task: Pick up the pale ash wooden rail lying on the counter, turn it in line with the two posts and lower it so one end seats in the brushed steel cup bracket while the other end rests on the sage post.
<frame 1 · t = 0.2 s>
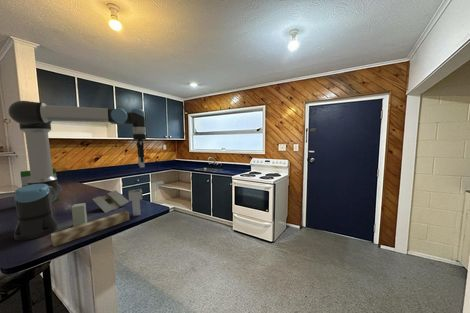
hand: (141, 166, 128), 28 cm above the countertop, tool pointing down, fingers open, 13 cm apart
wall: (112, 207, 130), on the countertop
hardback book: (42, 202, 142), on the countertop
rail: (95, 231, 97), on the countertop
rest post: (80, 224, 104), on the countertop
cup bracket: (136, 214, 117), on the countertop
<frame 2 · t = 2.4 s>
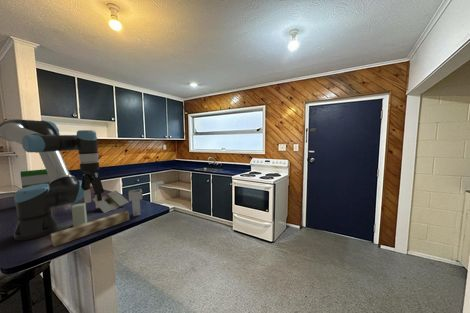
hand: (93, 204, 96), 13 cm above the countertop, tool pointing down, fingers open, 13 cm apart
nothing on the countertop moved.
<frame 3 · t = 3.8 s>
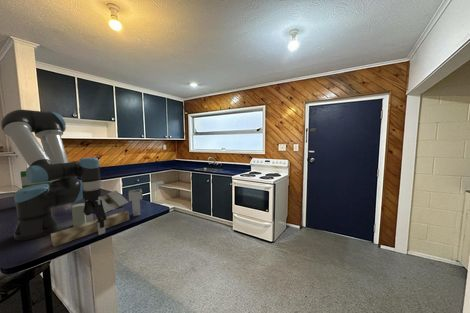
hand: (95, 230, 97), 0 cm above the countertop, tool pointing down, fingers open, 13 cm apart
nothing on the countertop moved.
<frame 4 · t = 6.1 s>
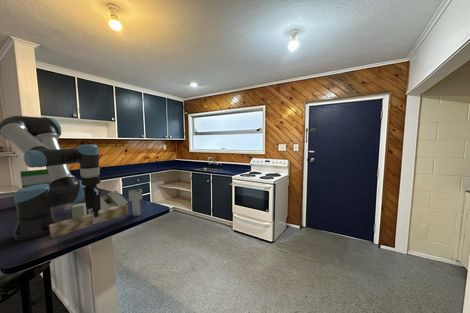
hand: (94, 221, 97), 4 cm above the countertop, tool pointing down, fingers closed on rail, 3 cm apart
rail: (94, 223, 97), point 4 cm above the countertop, touching gripper
everything else where it was.
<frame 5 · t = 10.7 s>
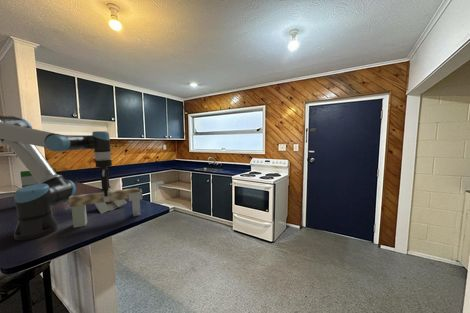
hand: (107, 200, 109), 11 cm above the countertop, tool pointing down, fingers closed on rail, 3 cm apart
rail: (106, 201, 109), point 11 cm above the countertop, touching cup bracket, gripper, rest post
everything else where it was.
when the fingers open (10 cm above the countertop, at t = 11.0 s): rail stays where it is, resting on cup bracket, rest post.
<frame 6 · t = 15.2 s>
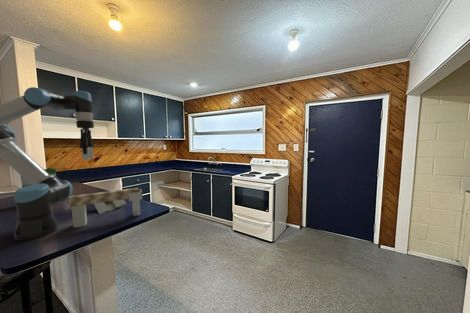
hand: (88, 159, 108), 35 cm above the countertop, tool pointing down, fingers open, 13 cm apart
rail: (106, 201, 109), point 11 cm above the countertop, touching cup bracket, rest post
at the end: rail 0.1 cm from the target spot on the cup bracket, point 11.0 cm above the cup bracket's base; rail tilted 0°; rail touching cup bracket, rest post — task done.
